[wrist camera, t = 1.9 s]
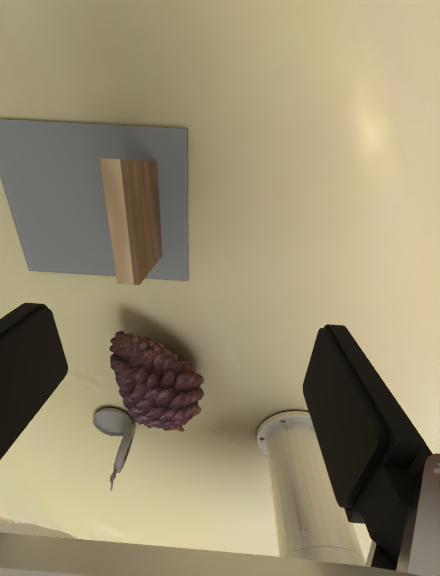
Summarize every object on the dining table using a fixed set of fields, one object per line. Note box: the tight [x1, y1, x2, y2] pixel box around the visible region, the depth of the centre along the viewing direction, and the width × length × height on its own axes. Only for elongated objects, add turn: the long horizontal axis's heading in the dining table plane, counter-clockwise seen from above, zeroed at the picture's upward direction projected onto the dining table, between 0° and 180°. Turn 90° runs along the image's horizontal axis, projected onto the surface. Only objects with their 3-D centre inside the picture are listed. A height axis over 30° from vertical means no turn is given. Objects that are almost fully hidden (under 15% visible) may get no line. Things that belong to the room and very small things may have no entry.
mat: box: [0, 119, 188, 281], centre depth 28 cm, size 20×16×1 cm
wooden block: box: [100, 158, 162, 285], centre depth 24 cm, size 2×10×8 cm, turn 177°
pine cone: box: [110, 331, 204, 432], centre depth 33 cm, size 18×10×10 cm, turn 27°
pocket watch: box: [93, 408, 136, 491], centre depth 39 cm, size 8×8×10 cm
